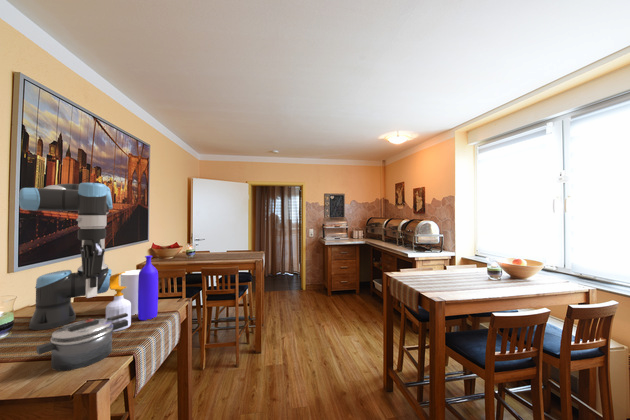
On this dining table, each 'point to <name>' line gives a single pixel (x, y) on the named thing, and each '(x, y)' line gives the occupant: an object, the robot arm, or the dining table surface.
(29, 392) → the dining table surface
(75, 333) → the lid
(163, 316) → the dining table surface
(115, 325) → the pot
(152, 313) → the bottle
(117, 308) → the soap bottle
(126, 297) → the canister
